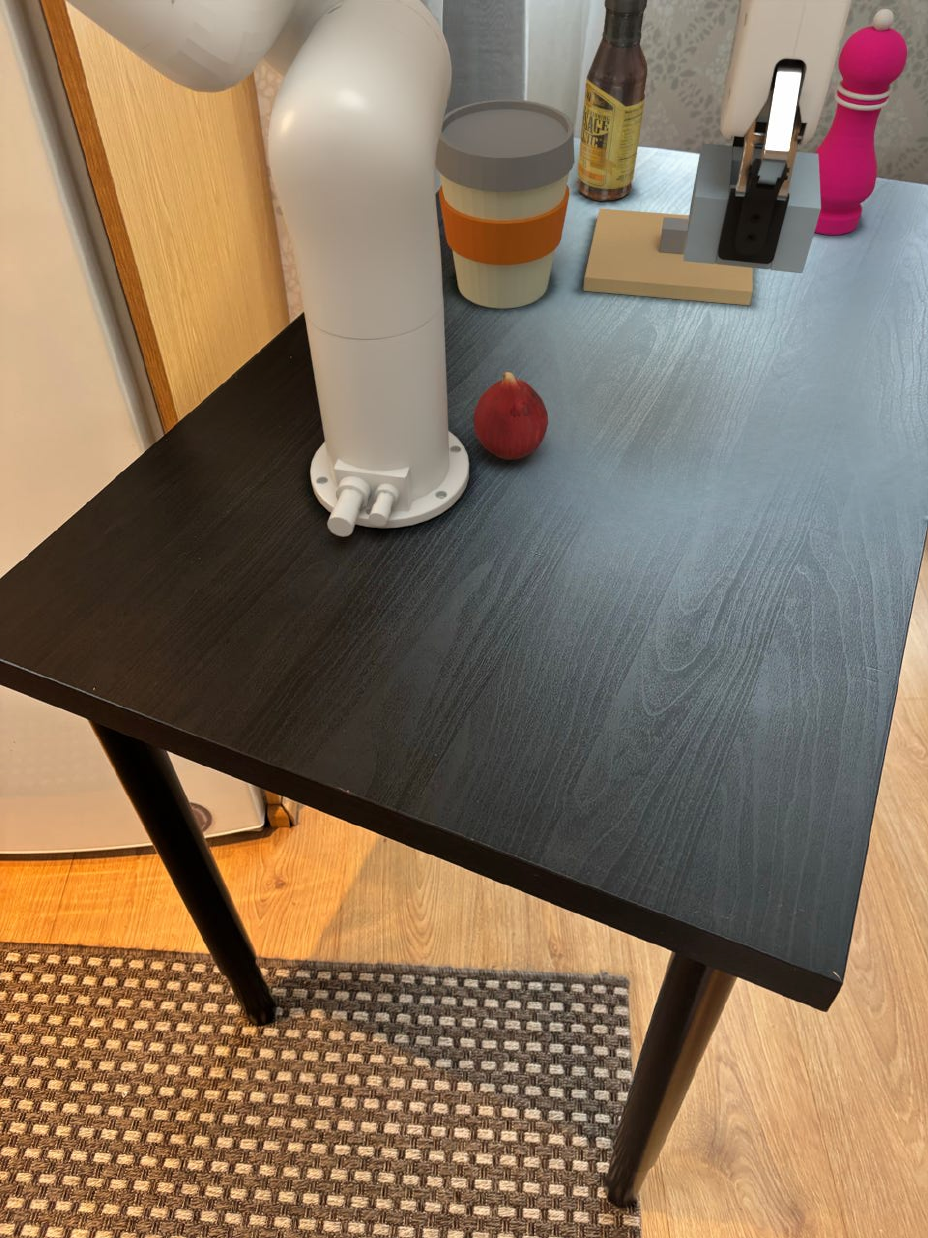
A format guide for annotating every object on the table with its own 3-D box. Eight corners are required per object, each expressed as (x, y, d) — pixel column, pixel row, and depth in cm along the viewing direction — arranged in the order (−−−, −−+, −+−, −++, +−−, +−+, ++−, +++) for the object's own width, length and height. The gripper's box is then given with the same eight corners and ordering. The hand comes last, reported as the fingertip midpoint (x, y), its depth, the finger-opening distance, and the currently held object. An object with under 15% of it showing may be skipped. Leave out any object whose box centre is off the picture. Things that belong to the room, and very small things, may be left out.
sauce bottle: (567, 183, 110) (580, -18, 95) (616, 173, 111) (637, -27, 96) (592, 209, 106) (610, 3, 91) (643, 199, 107) (669, -6, 92)
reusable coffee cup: (589, 298, 94) (603, 140, 83) (473, 331, 91) (471, 171, 79) (529, 240, 101) (534, 88, 90) (419, 269, 98) (410, 114, 87)
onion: (552, 440, 80) (557, 357, 74) (536, 485, 76) (541, 402, 70) (484, 429, 81) (484, 347, 75) (465, 473, 78) (464, 390, 72)
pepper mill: (856, 205, 105) (919, -4, 90) (867, 239, 100) (936, 23, 85) (788, 203, 106) (839, -5, 90) (796, 236, 101) (852, 22, 86)
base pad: (749, 305, 93) (758, 266, 90) (583, 290, 95) (586, 252, 92) (750, 233, 102) (758, 196, 99) (598, 221, 104) (601, 184, 101)
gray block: (802, 273, 57) (821, 207, 54) (683, 261, 58) (694, 195, 55) (801, 216, 62) (818, 152, 58) (690, 206, 62) (701, 142, 59)
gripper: (750, -177, 52) (693, 159, 65) (740, -86, 41) (674, 296, 54) (896, -172, 51) (807, 169, 64) (926, -76, 40) (811, 310, 53)
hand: (746, 225), depth 59 cm, fingers closed on gray block, 7 cm apart
